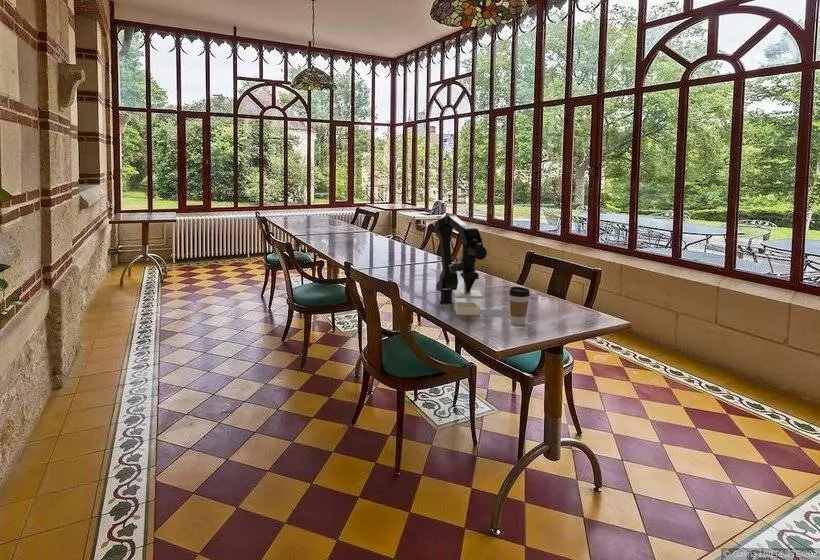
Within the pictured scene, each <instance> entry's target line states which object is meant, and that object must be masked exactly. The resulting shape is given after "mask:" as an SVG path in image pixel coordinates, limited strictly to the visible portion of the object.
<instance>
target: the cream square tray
mask: <svg viewBox="0 0 820 560" xmlns="http://www.w3.org/2000/svg"><path fill="white" fill-rule="evenodd" d="M453 303H454V304H453V310H454V312H455V314H456V316H460V317H461V316H475V317H477V316H478V317H479V316H481V313H480V310H481V307H480V305H479V304H478V302H477V301H453Z"/></svg>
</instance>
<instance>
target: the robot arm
mask: <svg viewBox="0 0 820 560" xmlns="http://www.w3.org/2000/svg"><path fill="white" fill-rule="evenodd" d="M433 228H434V233H435V235H436V237H437V238H438V240H439V246H440V247H439V248H440V258H441V259H440V261H441V268H442V269H441V272H440V274H439V280H438V282H437V284H436V285H435V288H436V290H437V291H439V292H440V295H439V296H440V299H438V302H439V304H440V305H445V304H447V305H449V304H450V305H454V301H453V293H452V290H458V285H459V278H458V272H459V275H460V276H461V277H462V280H463V283H464V285H465V283H466V290H467V292H469V291H470V289H471V290H472V288H473V285H474V284H475V281H476V280H479V276H480V274H479V273H478V272H477V271H476V270H477V269H476V262H477V260H479V261H481V260H484V259H485V258H486V257H487V254H488V250H487V249H486V247H485V246H484V243H483V238H482V236H481V233H480V231H479V229H478V228H477V227H476V226H473V225H469V224H467V223H465V222H464V221H462V219H460V218H459V217H458V216H457V215H456V214H446V215H445V216H444V217H441V218H439V219H438V220H436V221H435V223H434V225H433ZM453 229H454V230H456V231H457V232H458V233H459V235H458V236H459V237H460V239H461V240H462V241H461V242H460V245H462V249H461V250H462V251H461V253H462V255H461V258H460V261H456V262H453V260H452V248H451V247H452V245H451V237H452V234H453Z"/></svg>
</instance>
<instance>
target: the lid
mask: <svg viewBox="0 0 820 560" xmlns="http://www.w3.org/2000/svg"><path fill="white" fill-rule="evenodd" d="M452 296H454V298H455V299H468V300H469V299H476V300H477V299H481V300H482V299H484V295H483V294H482V293H481V291H480V290H479V289H472V288H471V289H470V291H469V292H467V290H466V283H465V284H464V287H463V289H457V290H452Z"/></svg>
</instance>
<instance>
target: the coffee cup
mask: <svg viewBox="0 0 820 560" xmlns="http://www.w3.org/2000/svg"><path fill="white" fill-rule="evenodd" d="M508 294H509V316H510V317H509V318H510V324H512V325H517V326H519V325H520V326H521V325H522V326H523V325H525V324H526V319H527V313H528V307H529V297H530V294H531V293H530V290H529V289H528V288H526V287H521V286H511V287H509V292H508Z"/></svg>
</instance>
